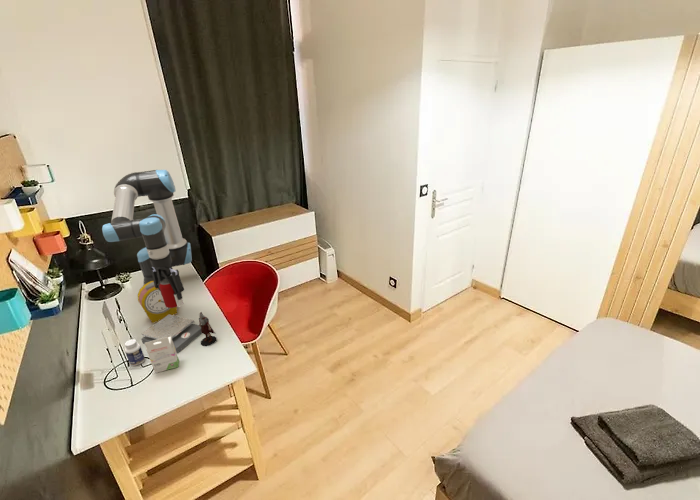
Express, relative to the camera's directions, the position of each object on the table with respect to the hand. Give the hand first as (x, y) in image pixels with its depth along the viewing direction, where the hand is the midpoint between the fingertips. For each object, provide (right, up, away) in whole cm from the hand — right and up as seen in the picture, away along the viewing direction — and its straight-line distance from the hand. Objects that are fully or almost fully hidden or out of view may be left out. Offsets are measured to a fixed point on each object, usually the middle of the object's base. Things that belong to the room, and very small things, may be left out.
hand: (174, 303), depth 153 cm
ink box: (+4, -23, -13) cm, 26 cm away
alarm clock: (-15, -9, +20) cm, 27 cm away
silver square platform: (-4, -12, +3) cm, 13 cm away
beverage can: (0, -1, 0) cm, 1 cm away
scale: (-2, -15, +4) cm, 16 cm away
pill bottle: (-10, -22, -9) cm, 26 cm away
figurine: (+15, -16, +1) cm, 22 cm away
